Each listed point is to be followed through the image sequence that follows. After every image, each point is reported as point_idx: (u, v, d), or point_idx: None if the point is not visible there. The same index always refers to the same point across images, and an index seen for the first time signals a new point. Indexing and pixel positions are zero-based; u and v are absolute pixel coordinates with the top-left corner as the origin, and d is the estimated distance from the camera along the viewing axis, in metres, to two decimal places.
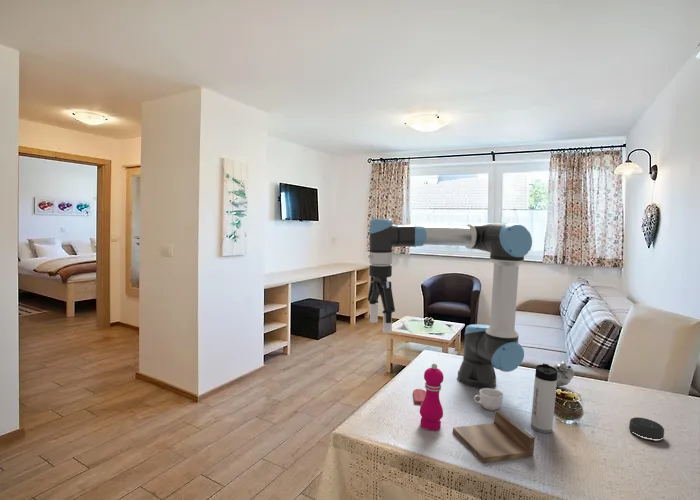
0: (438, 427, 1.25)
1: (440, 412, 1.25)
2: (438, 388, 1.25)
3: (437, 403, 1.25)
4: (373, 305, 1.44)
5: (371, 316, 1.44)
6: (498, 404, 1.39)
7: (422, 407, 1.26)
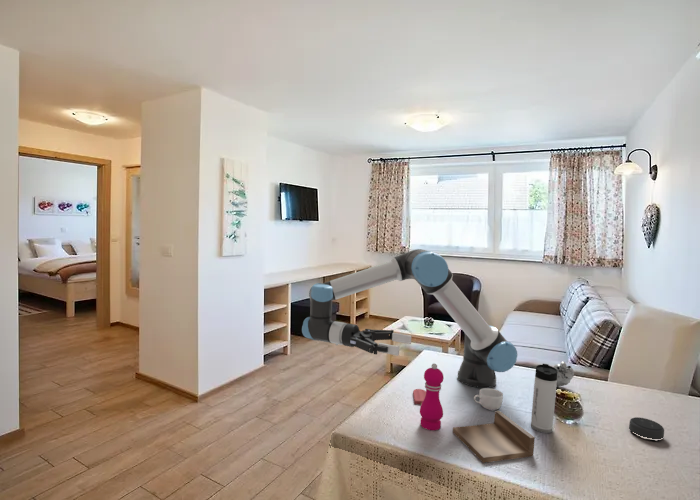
0: (438, 427, 1.25)
1: (440, 412, 1.25)
2: (438, 388, 1.25)
3: (437, 403, 1.25)
4: (393, 337, 1.38)
5: (403, 342, 1.37)
6: (498, 404, 1.39)
7: (422, 407, 1.26)
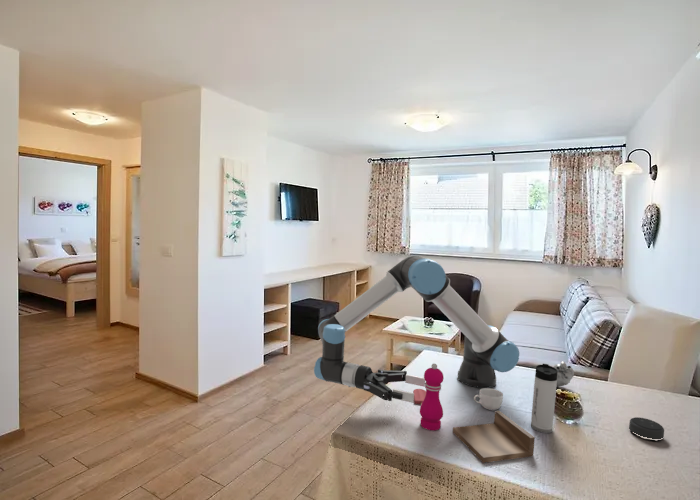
0: (438, 427, 1.25)
1: (440, 412, 1.25)
2: (438, 388, 1.25)
3: (437, 403, 1.25)
4: (406, 379, 1.37)
5: (417, 384, 1.35)
6: (498, 404, 1.39)
7: (422, 407, 1.26)
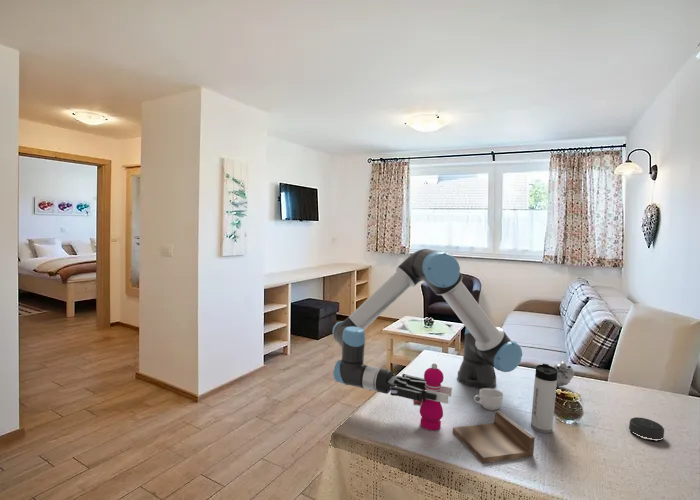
0: (438, 427, 1.25)
1: (440, 412, 1.25)
2: (438, 388, 1.25)
3: (437, 403, 1.25)
4: None
5: None
6: (498, 404, 1.39)
7: (422, 407, 1.26)
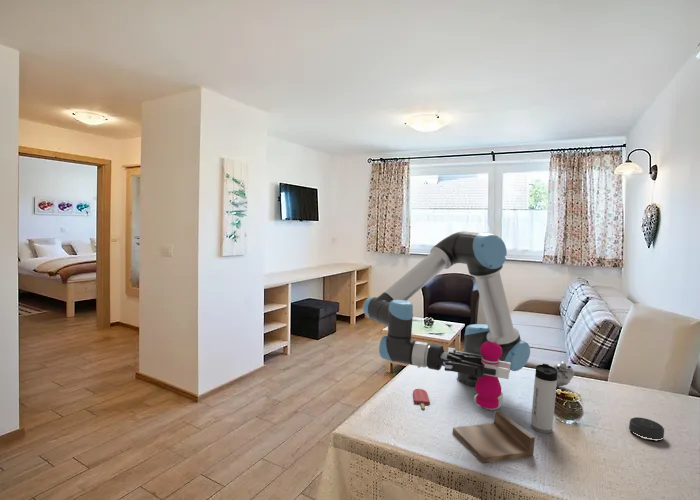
0: (496, 405, 1.16)
1: (499, 389, 1.15)
2: (497, 363, 1.15)
3: (495, 379, 1.16)
4: None
5: None
6: None
7: (479, 384, 1.17)
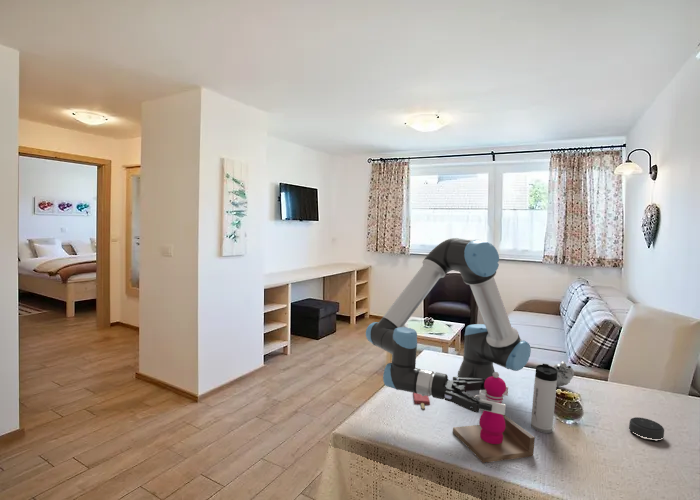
0: (501, 440, 1.16)
1: (503, 424, 1.16)
2: (501, 398, 1.16)
3: (499, 415, 1.16)
4: None
5: None
6: None
7: (483, 419, 1.17)
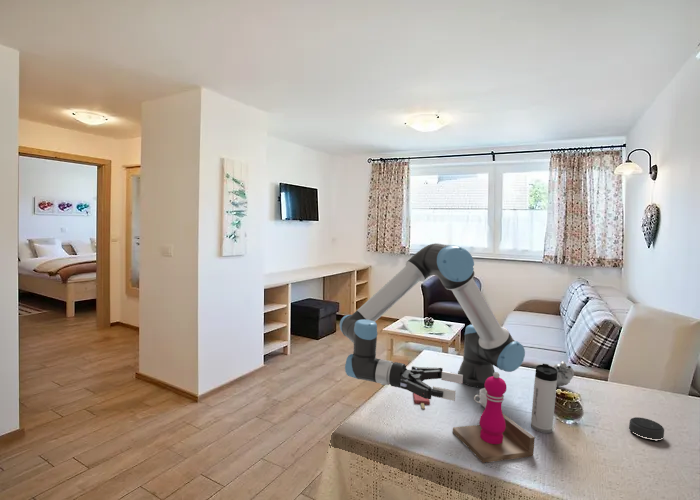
0: (501, 441, 1.16)
1: (503, 424, 1.16)
2: (501, 399, 1.16)
3: (500, 415, 1.16)
4: (442, 376, 1.31)
5: (454, 381, 1.29)
6: None
7: (483, 419, 1.17)
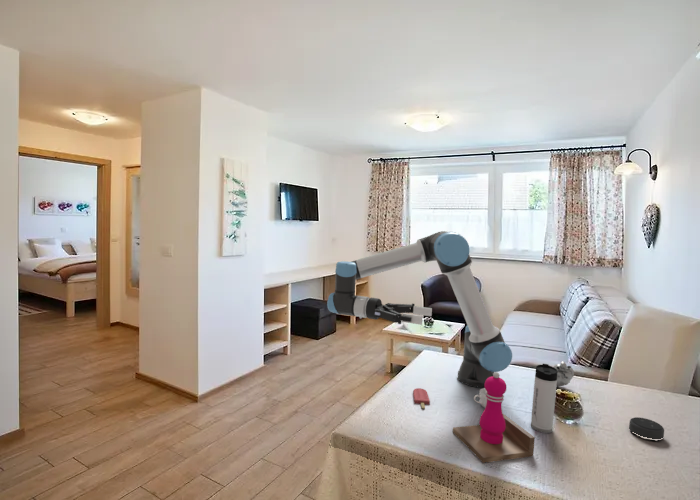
0: (501, 441, 1.16)
1: (503, 424, 1.16)
2: (501, 399, 1.16)
3: (500, 415, 1.16)
4: (414, 310, 1.46)
5: (424, 314, 1.44)
6: None
7: (483, 419, 1.17)
